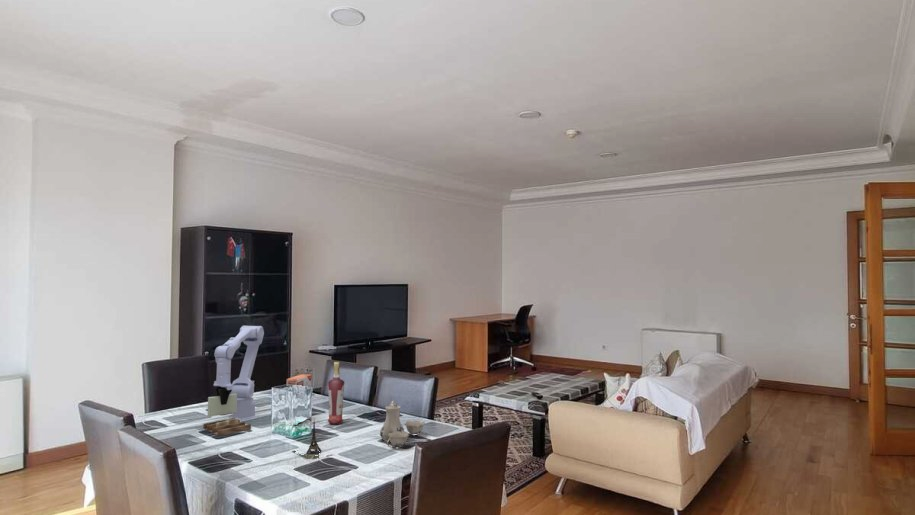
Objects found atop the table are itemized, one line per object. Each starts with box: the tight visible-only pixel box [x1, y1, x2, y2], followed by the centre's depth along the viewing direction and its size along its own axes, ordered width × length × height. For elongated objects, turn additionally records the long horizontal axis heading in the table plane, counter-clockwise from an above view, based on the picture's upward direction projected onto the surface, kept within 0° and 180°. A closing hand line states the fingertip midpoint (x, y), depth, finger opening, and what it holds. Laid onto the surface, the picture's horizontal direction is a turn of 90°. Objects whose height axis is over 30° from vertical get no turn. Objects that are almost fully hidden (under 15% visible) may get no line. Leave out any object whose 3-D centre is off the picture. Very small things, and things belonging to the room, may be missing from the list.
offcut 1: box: [216, 421, 229, 427], centre depth 230 cm, size 5×2×3 cm, turn 137°
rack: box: [202, 418, 252, 437], centre depth 232 cm, size 14×16×3 cm
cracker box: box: [285, 373, 313, 388], centre depth 247 cm, size 14×6×21 cm, turn 168°
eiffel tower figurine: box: [291, 420, 323, 460], centre depth 203 cm, size 15×10×13 cm
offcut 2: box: [225, 418, 239, 425], centre depth 235 cm, size 5×2×3 cm, turn 137°
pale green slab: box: [207, 394, 237, 418], centre depth 235 cm, size 12×2×8 cm, turn 137°
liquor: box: [327, 361, 345, 425], centre depth 246 cm, size 7×7×28 cm
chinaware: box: [379, 400, 426, 448], centre depth 221 cm, size 28×17×17 cm, turn 168°
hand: (222, 404), depth 235 cm, fingers closed on pale green slab, 2 cm apart
